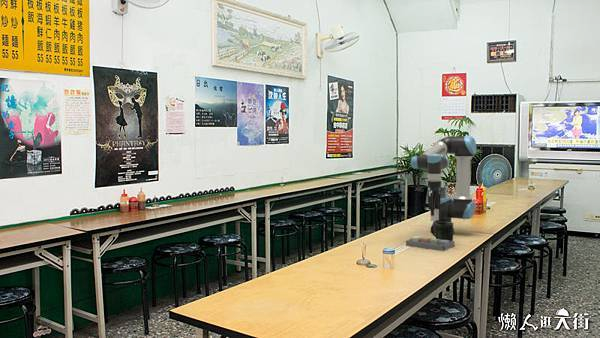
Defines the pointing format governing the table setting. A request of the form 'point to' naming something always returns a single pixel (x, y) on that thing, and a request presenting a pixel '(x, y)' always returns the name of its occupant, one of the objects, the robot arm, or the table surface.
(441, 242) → the key slate
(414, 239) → the key ivory
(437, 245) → the grey compartment rack
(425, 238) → the block
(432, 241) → the key sage
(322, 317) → the table surface
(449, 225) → the mug
